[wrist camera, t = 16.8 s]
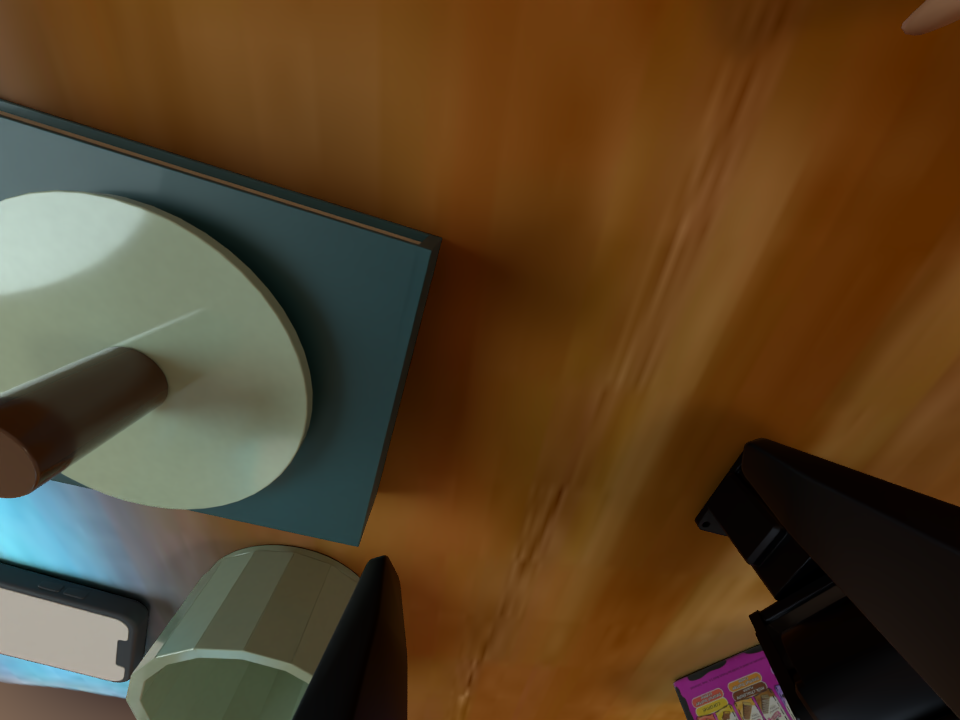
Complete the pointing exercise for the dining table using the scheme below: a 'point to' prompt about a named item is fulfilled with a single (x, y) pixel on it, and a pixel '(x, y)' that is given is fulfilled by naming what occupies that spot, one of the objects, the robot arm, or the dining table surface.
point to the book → (295, 285)
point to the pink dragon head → (932, 16)
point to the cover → (140, 357)
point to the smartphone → (70, 625)
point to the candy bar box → (734, 690)
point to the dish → (244, 638)
